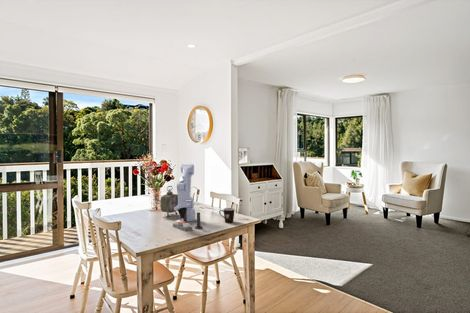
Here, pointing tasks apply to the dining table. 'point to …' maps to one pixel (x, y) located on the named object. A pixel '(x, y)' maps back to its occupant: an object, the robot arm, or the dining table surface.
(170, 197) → the tabletop clock
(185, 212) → the cord post left
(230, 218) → the coffee mug
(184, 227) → the breaker panel
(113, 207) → the dining table surface
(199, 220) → the cord post right
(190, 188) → the robot arm
